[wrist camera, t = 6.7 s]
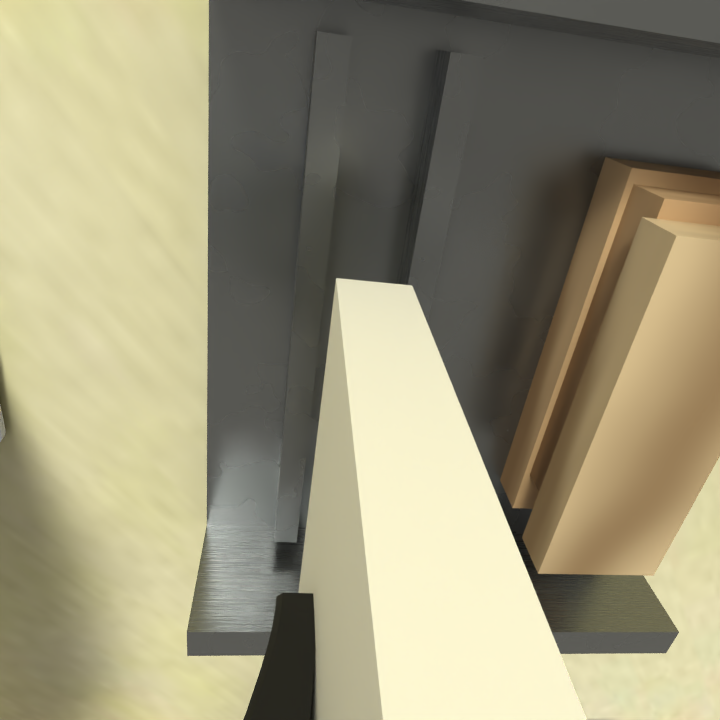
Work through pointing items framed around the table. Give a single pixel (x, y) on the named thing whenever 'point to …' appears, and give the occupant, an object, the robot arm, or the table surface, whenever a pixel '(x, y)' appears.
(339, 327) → the white block
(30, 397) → the table surface
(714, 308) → the offcut stack
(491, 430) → the rack
